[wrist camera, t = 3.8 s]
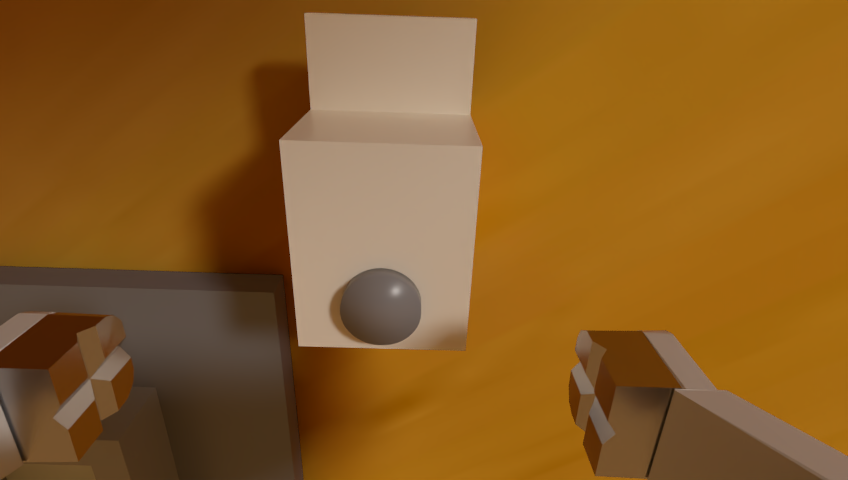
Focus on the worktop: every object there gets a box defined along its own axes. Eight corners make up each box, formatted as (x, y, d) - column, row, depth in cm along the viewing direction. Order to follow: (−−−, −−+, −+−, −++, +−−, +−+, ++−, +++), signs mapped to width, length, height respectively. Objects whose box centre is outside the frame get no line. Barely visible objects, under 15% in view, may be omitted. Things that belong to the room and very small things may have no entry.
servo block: (326, 10, 14) (261, 17, 8) (466, 15, 14) (496, 26, 9) (340, 292, 18) (301, 427, 13) (449, 295, 18) (460, 430, 13)
